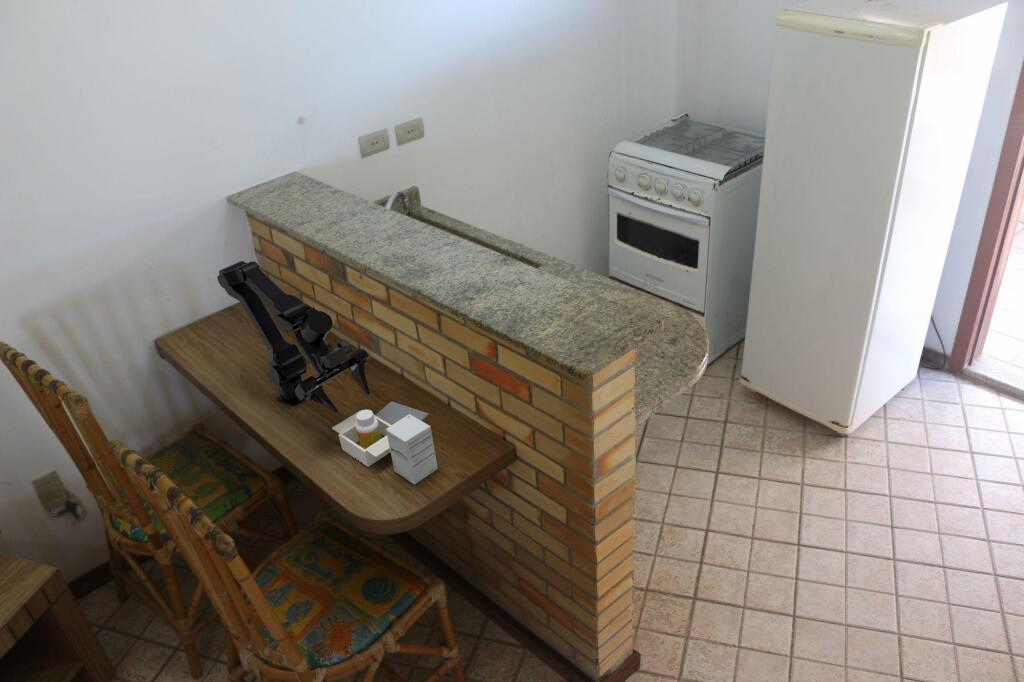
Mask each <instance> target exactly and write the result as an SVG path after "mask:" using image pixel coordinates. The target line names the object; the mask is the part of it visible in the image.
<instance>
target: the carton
mask: <svg viewBox="0 0 1024 682" xmlns="http://www.w3.org/2000/svg"><path fill="white" fill-rule="evenodd" d="M362 410H363V409H361V410H359V411H357V412H356V413H354V414H352V415H351V416H349V417H347V418H345V419H344V420H342V421H341V422H339V423H337V424H336V425H334V426H332V427H331V429H332V430H333V431H335V432H336V433H338V439H339V443H340V446H341V450H342V451H343V452H345V453H347V454H348V455H349V456H351V457H353V458H354V459H355V458H356V459H355V460H357V461H358V460H359V462H360V463H361V462H362V465H364V466H366V467H368V468H369V467H370V466H372V465H373V464H375V463H376V462H378V461H380V460H381V459H382V458H384V457H385V456H387V455H388V454H391V452H390V447H389V442H388V438H387V433H386V429H387V428H388V427H390V426H391V425H390V424H389V423H387V422H385V421H384V420H382V419H380V418H379V417H377V416H375V415H376V414H374V413H373V415H374V418H376V419H377V420H378V423H379V428H380V432H381V436H384V437H382V439H381V440H379V441H377V442H376V443H374V444H373V445H371V446H370V447H368V448H366V449H363V448H362V447H360V444H357V443H359V440H358V436H357V432H356V427H355V425H356V422H357V419H356V415H357V413H358V412H360V411H362Z"/></svg>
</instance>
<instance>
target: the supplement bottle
mask: <svg viewBox="0 0 1024 682" xmlns="http://www.w3.org/2000/svg"><path fill="white" fill-rule="evenodd" d="M361 410H362V411H360V410H359V411H360V412H359V411H357V412H358V413H357V412H356V413H357V415H356V419H357V422H356V425H355V427H356V432H357V436H358V440H359V441H358V445H359V446H360V447H362V448H363V449H366V448H368V447H370V446H371V445H373V444H374V443H376V442H377V441H379V440H381V439H382V438H383V437H382V434H381V432H380V428H379V423H378V420H377V419H376V418H374V415H375V414H374V412H373V411H372V410H371V409H361ZM373 414H374V415H373Z"/></svg>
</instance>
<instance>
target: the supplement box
mask: <svg viewBox="0 0 1024 682" xmlns="http://www.w3.org/2000/svg"><path fill="white" fill-rule="evenodd" d="M431 427H432V426H431V425H429V424H427V423H426V422H425V421H421V420H419V419H417V418H416V417H414V416H412V415H411V414H409V415H407V416H406V417H404V418H402V419H401V420H399V421H398V422H396V423H395V424H393V425H391V426H390V427H388V428H387V429H386V433H387V438H388V442H389V447H390V455H391V461H392V465H393V470H394V472H395V473H397V474H398V475H400V476H401V477H403V478H404V479H406V480H407V481H408V482H409V483H410V484H413V485H416V484H418V483H419V482H421V481H422V480H423V479H425V478H426V477H428V476H429V475H431V474H433V473H434V472H435V471H437V470H438V461H437V457H436V456H437V455H436V451H435V445H434V439H433V433H432V428H431Z"/></svg>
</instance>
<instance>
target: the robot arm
mask: <svg viewBox="0 0 1024 682" xmlns="http://www.w3.org/2000/svg"><path fill="white" fill-rule="evenodd" d="M218 274H219V275H217V282H218V284H219V286H220V287H222V289H224V291H226V294H227V295H228V296H230V297H232V298H233V299H235V300H236V301H239V303H240V304H241V306H242V308H243V310H244V311H245V313H246V314H247V316H248V318H249V319H250V321H251V323H252V325H253V327H254V328H255V330H256V331H257V333H258V335H259V337H260V339H261V340H262V341H263V343H264V346H265V347H266V348H267V351H268V358H267V359H268V361H267V362H268V365H269V367H270V369H269V370H268V372H267V374H266V376H267V378H268V381H269V382H270V383H272V384H273V385H274V386H277V388H278V390H279V394H280V395H279V396H277V397H276V400H277V401H279V402H282V403H284V404H287V405H290V406H296V405H297V404H299V403H300V402H301V401H303V399H305V400H306V401H309V400H311V401H313V402H315V403H317V404H319V405H321V406H322V407H324V408H325V409H326V410H329V411H331V412H332V413H333V414H336V415H337V414H338V413H339V411H338V409H337V407H336V406H335V405H334V403H333V401H332V400H331V399H330V398H329V396H328V395H327V394H326V392H325V390H324V388H323V385H322V384H324V383H325V382H328V381H329V380H330V381H331V380H332V379H333V378H336V377H337V376H338V375H340V374H342V373H344V372H345V371H348V370H351V372H350V375H351V376H352V378H353V379H354V381H355V382H356V383H357V385H358V386H359V387H360V389H361V390H362V392H363V393H364V394H365V395H366V396H369V395H370V390H369V386H368V385H369V384H368V382H367V377H366V373H365V372H366V371H365V368H366V365H367V364H368V359H369V358H370V357H371V355H370V354H369V352H368V351H367V350H366V349H364V348H360V349H358V350H356V351H354V352H353V348H352V346H351V344H350V343H349V342H348V340H346V339H344V340H342V341H340V342H338V343H336V344H337V347H334V346H333V345H332V344H331V343H329V344H328V343H327V342H326V340H325V338H326V337H327V335H328V334H329V332H330V330H331V329H332V327H333V319H332V317H331V315H330V314H328V313H326V312H325V311H323V310H322V311H321V310H318V309H316V308H315V307H314V306H310V305H309V304H307V303H306V302H304V301H303V300H302V299H300V298H298V296H296V295H292V294H287V293H286V292H284V290H283V289H281V288H280V287H279V286H278V284H276V283H275V282H274V281H273V280H272V279H271V278H270V277H269V276H268V275H267V274H266V273H265V272H264V271H262V270H261V267H260V265H259V263H258V262H256V261H253V260H252V261H248V262H245V261H243V260H240V261H237V262H235V263H233V264H231V265H228V266H226V267H224V268H222V269H219V271H218ZM264 303H265V304H266V305H265V304H264ZM266 306H268V307H269V308H270V309H271V311H272V312H273V318H274V319H273V318H272V316H271V314H270V312H269V311H268V309H267V307H266ZM275 322H276V323H275ZM279 328H280V329H281V330H283V331H285V332H293V337H292V341H293V343H290V342H288V341H286V340H285V338H284V336H283V335H282V333H281V331H280V330H279ZM299 348H300V349H299ZM300 350H301V351H302V352H303V353H301V351H300ZM352 352H353V353H352ZM303 354H304V355H303ZM349 354H350V355H349ZM348 355H349V356H348ZM307 364H308V365H309V366H310V365H311V366H312V367H313V369H314V371H315V372H316V374H317V375H316V377H315V376H313V375H310V377H309V376H308V377H307V378H305V379H303V378H302V376H303V375H305V374H307V371H308V370H307V368H308V366H307Z"/></svg>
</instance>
